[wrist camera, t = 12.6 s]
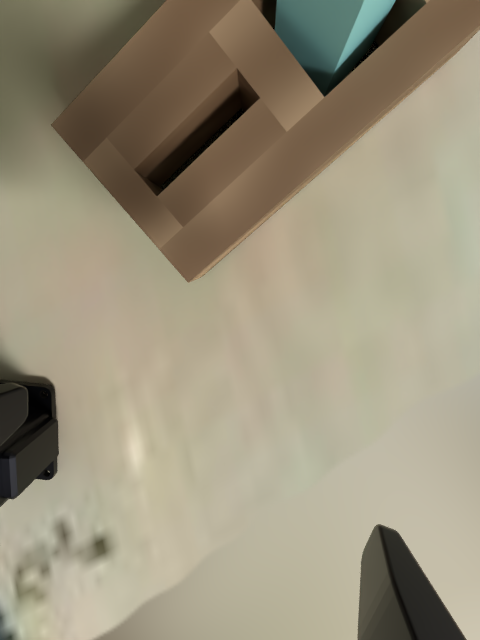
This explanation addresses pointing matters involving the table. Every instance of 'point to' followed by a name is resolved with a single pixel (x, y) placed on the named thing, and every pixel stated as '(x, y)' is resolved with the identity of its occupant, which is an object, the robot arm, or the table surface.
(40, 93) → the table surface
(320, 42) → the teal square peg
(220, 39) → the bore block
